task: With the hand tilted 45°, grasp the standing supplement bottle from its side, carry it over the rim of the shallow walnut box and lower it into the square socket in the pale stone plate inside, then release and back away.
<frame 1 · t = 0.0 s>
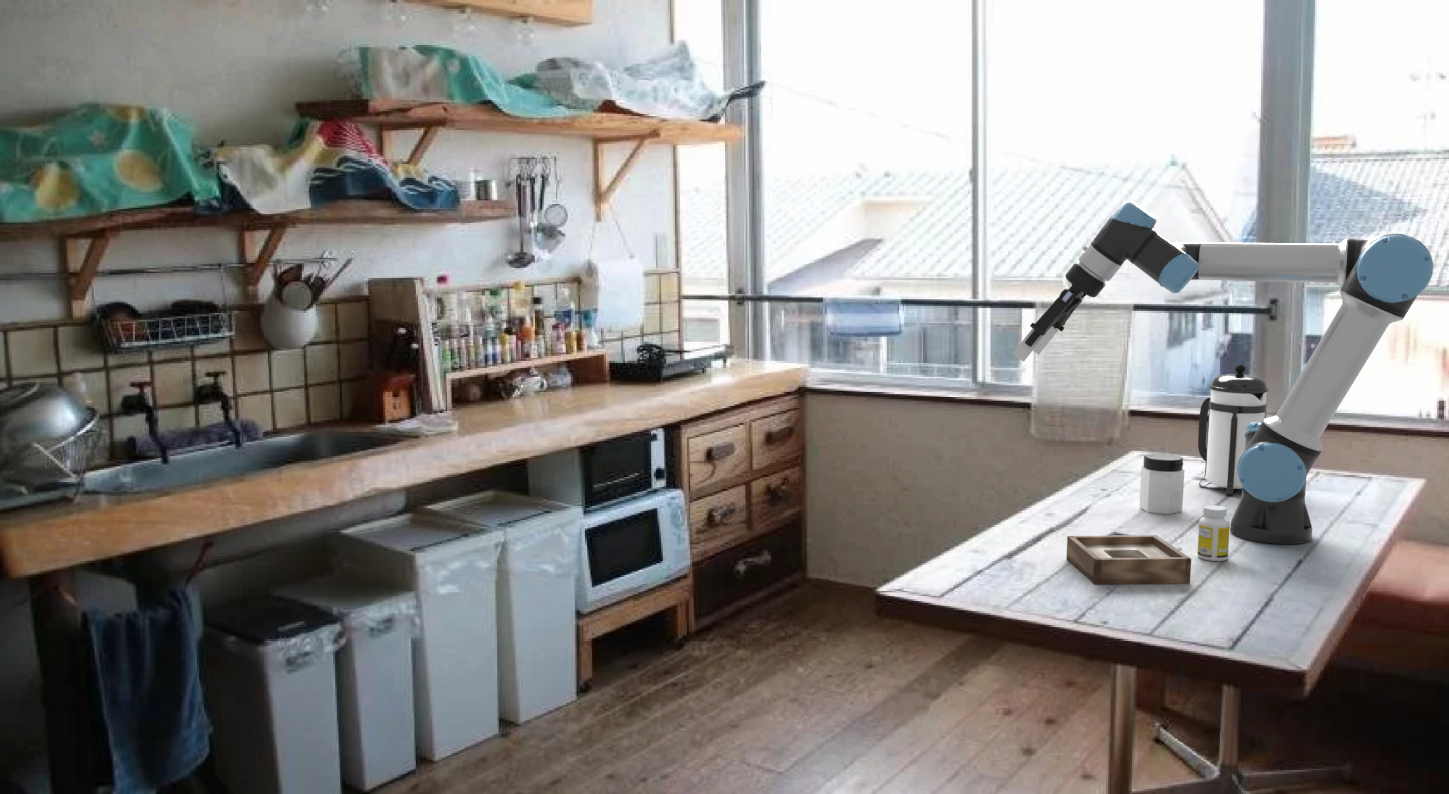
hand: (1026, 354, 252), 36 cm above the table, tool tilted 35°, fingers open, 13 cm apart
supplement bottle: (1212, 559, 232), on the table
jar: (1160, 510, 269), on the table
coffee press: (1227, 489, 290), on the table
socket box: (1126, 571, 223), on the table
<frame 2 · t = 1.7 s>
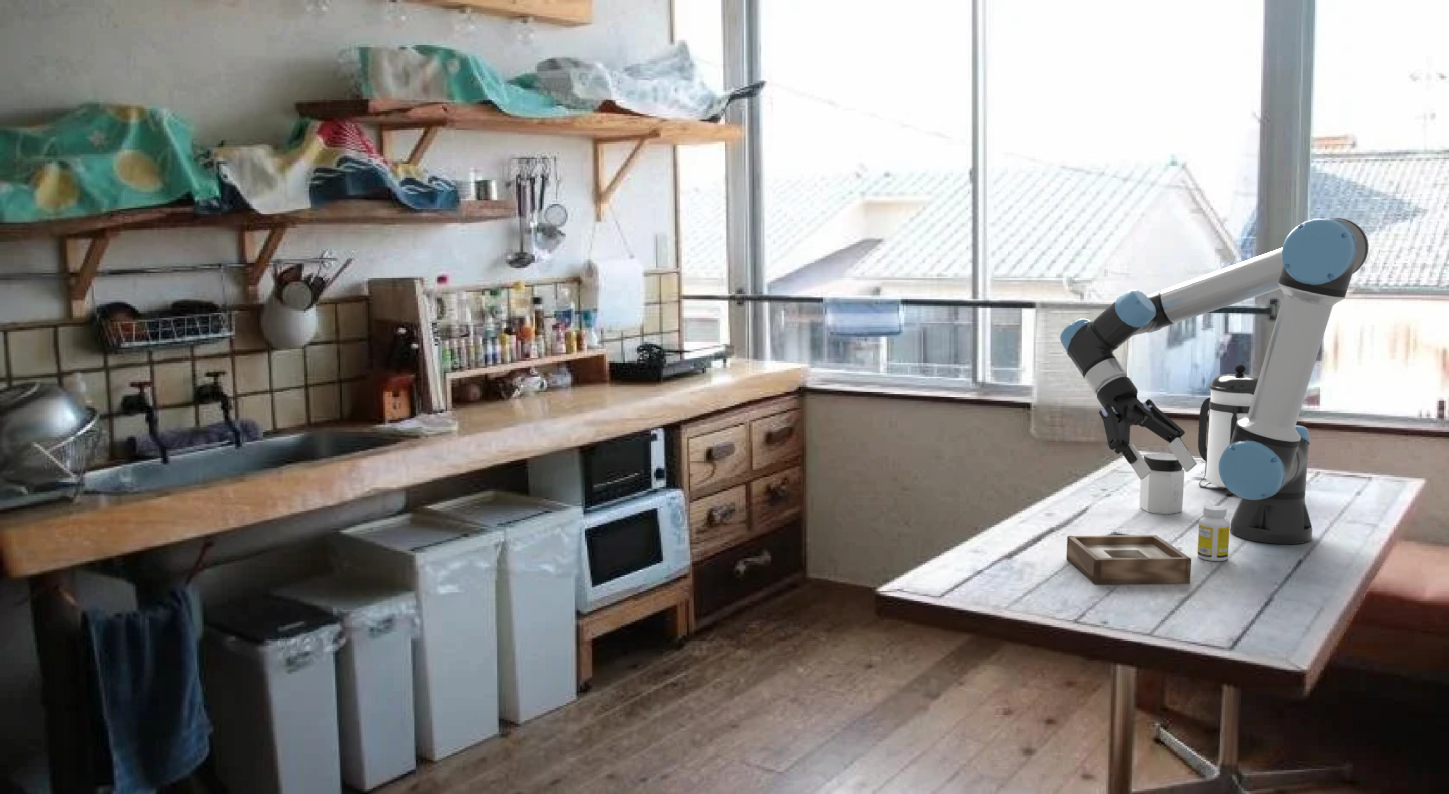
hand: (1169, 471, 238), 15 cm above the table, tool tilted 45°, fingers open, 13 cm apart
nothing on the table moved.
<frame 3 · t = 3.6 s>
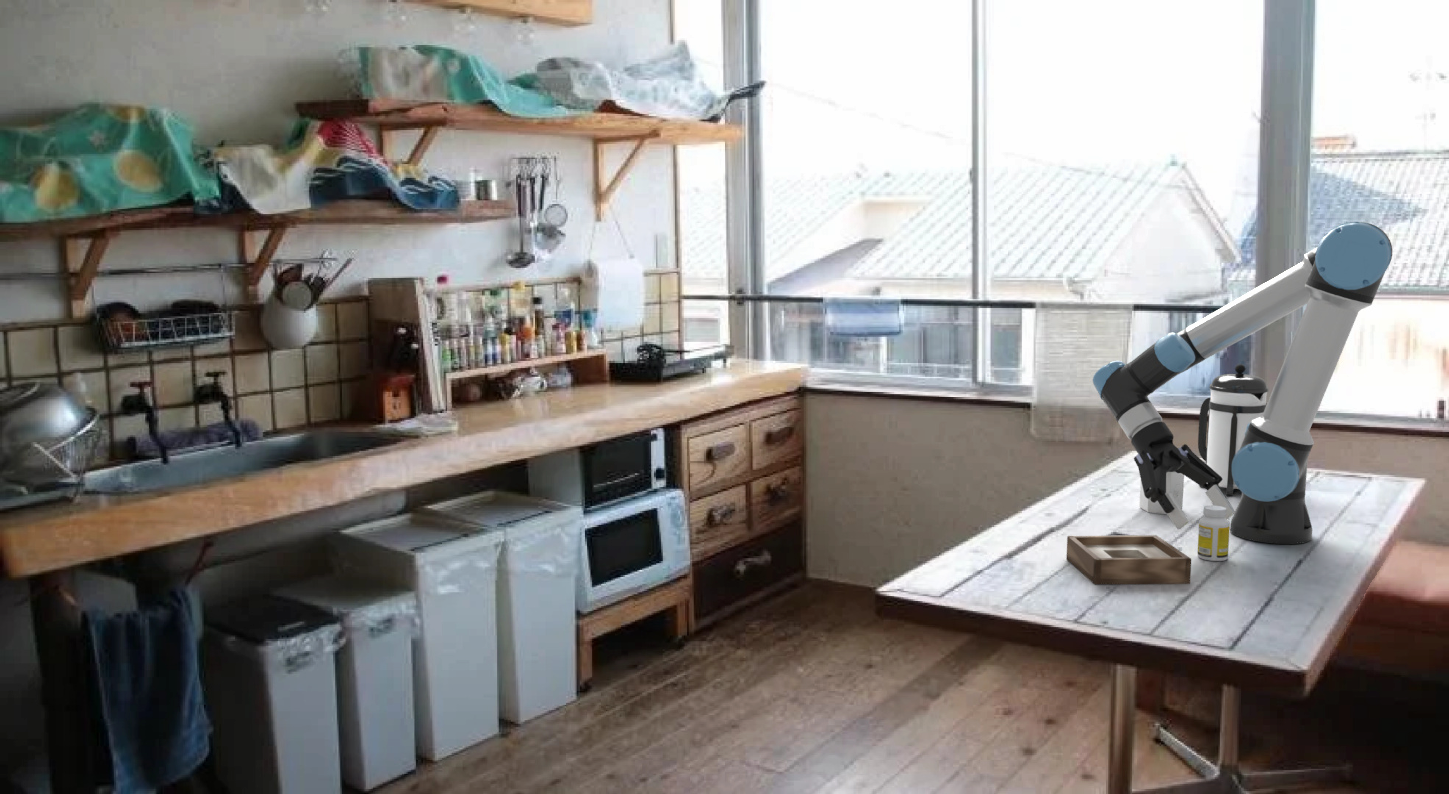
hand: (1207, 521, 231), 7 cm above the table, tool tilted 45°, fingers open, 13 cm apart
nothing on the table moved.
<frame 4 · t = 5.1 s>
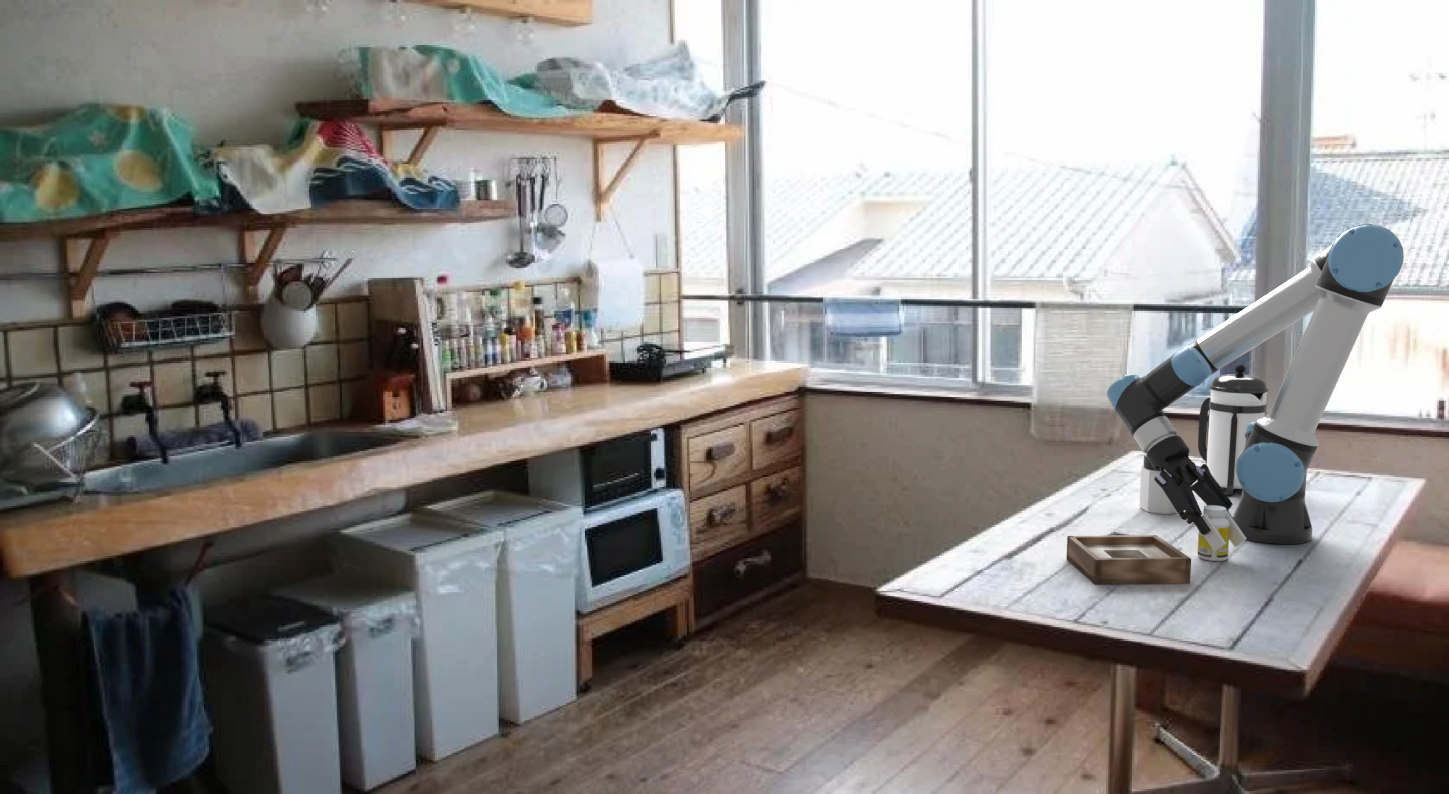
hand: (1230, 545, 228), 3 cm above the table, tool tilted 45°, fingers closed on supplement bottle, 5 cm apart
supplement bottle: (1212, 558, 232), on the table, touching gripper
everything else where it was.
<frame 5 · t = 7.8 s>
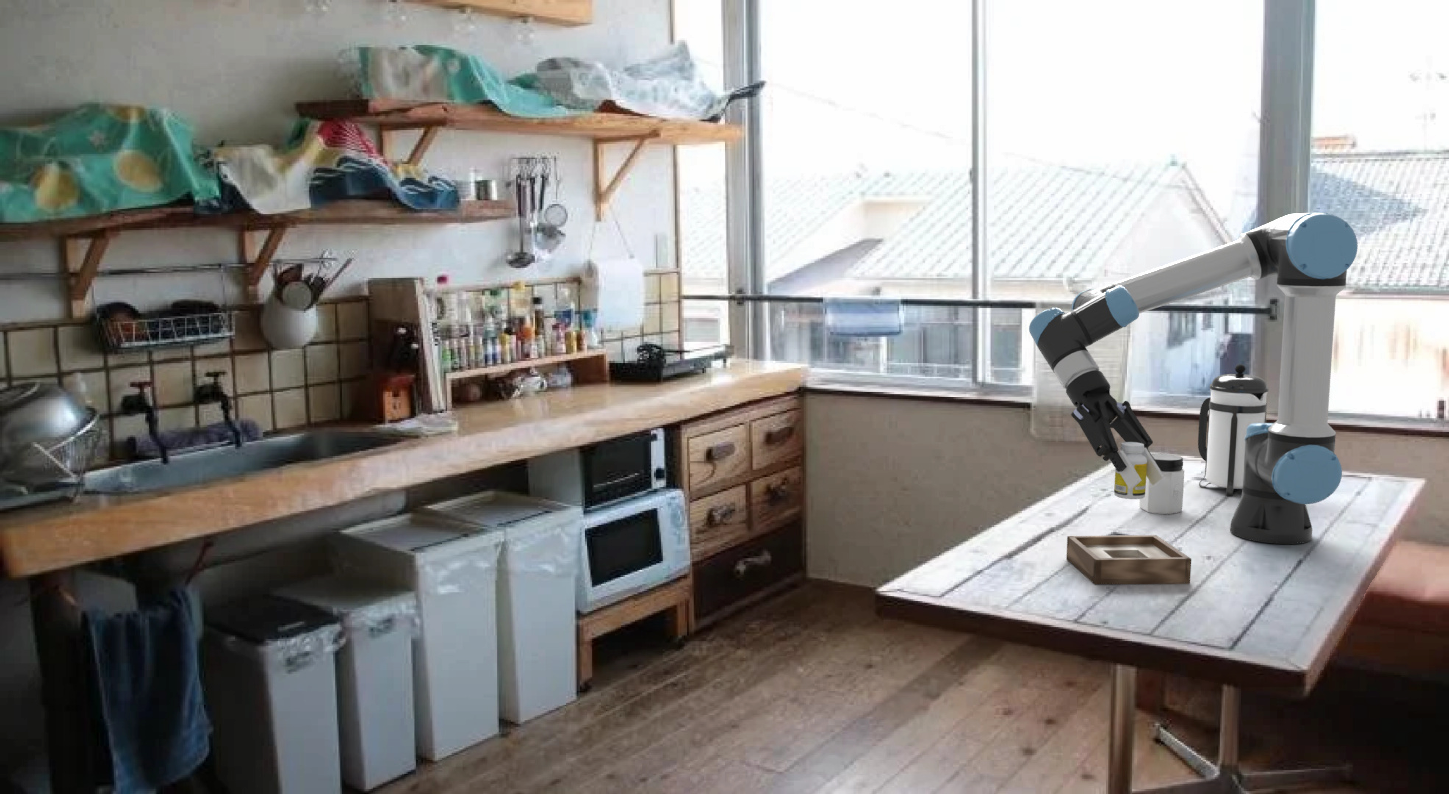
hand: (1147, 482, 218), 17 cm above the table, tool tilted 45°, fingers closed on supplement bottle, 5 cm apart
supplement bottle: (1129, 497, 222), point 13 cm above the table, touching gripper
everything else where it was.
when the fingers open (5 cm above the table, at t = 10.3 s): supplement bottle stays where it is, resting on socket box.
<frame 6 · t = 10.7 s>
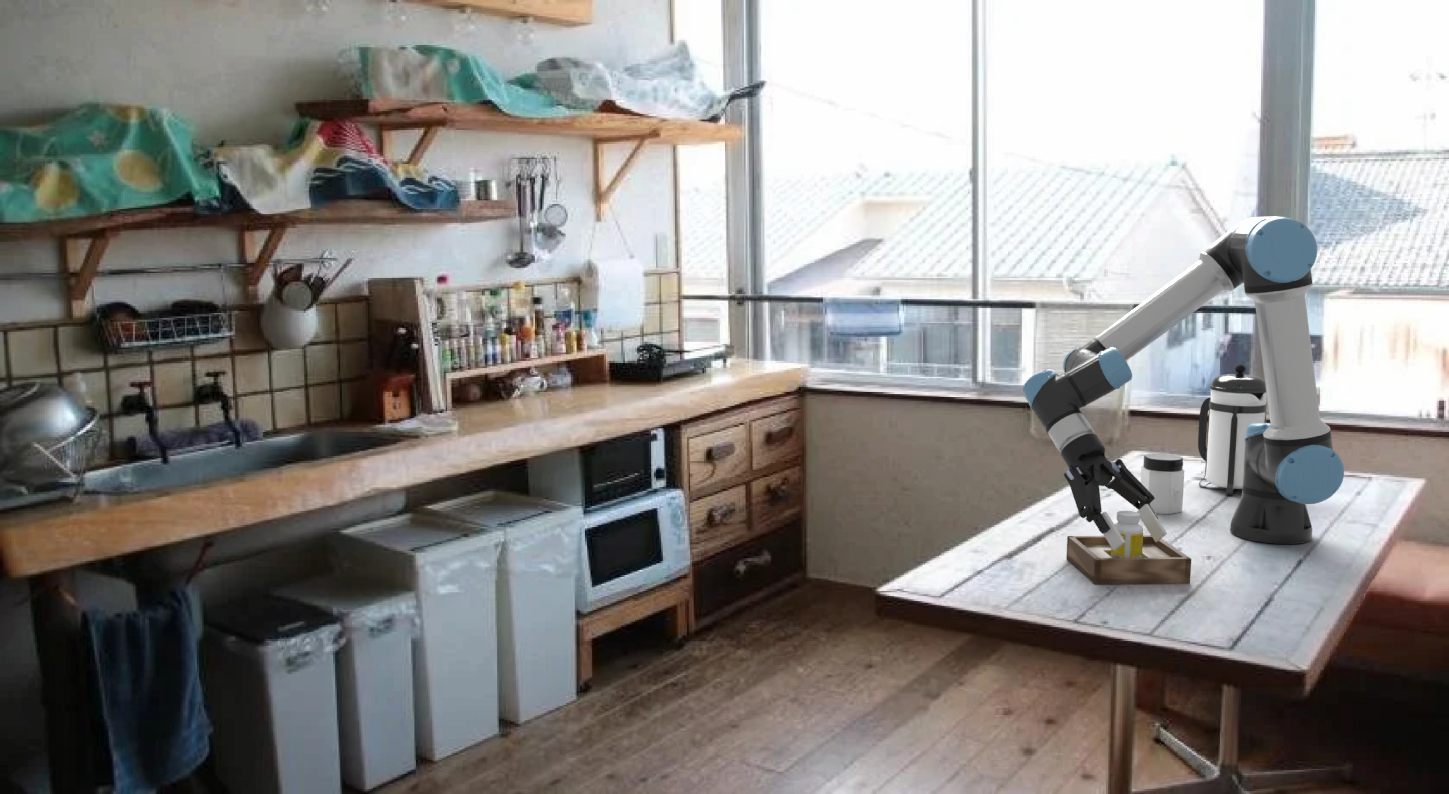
hand: (1140, 542, 220), 6 cm above the table, tool tilted 45°, fingers open, 10 cm apart
supplement bottle: (1125, 566, 223), point 1 cm above the table, touching socket box
everything else where it was.
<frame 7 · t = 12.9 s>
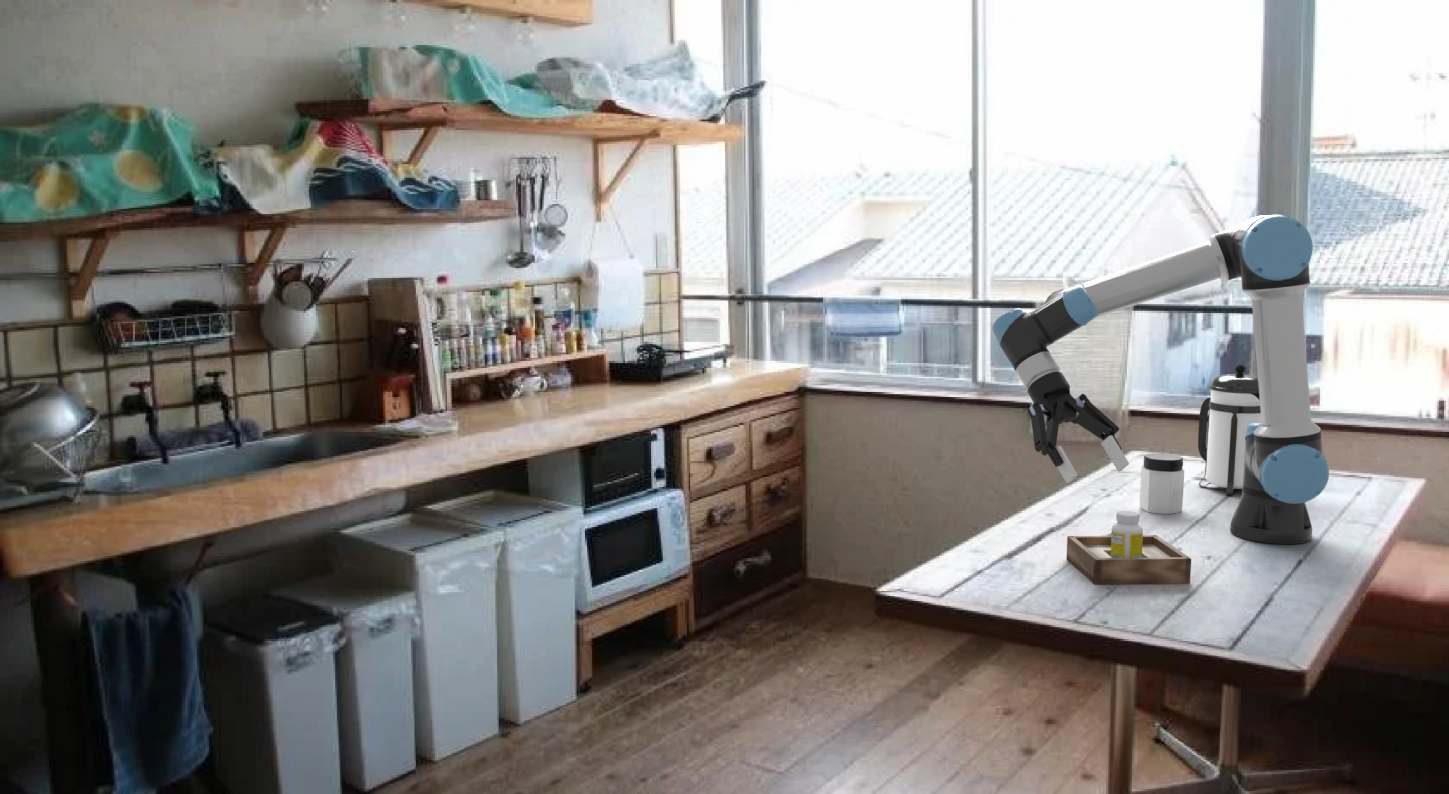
hand: (1098, 473, 228), 16 cm above the table, tool tilted 40°, fingers open, 13 cm apart
nothing on the table moved.
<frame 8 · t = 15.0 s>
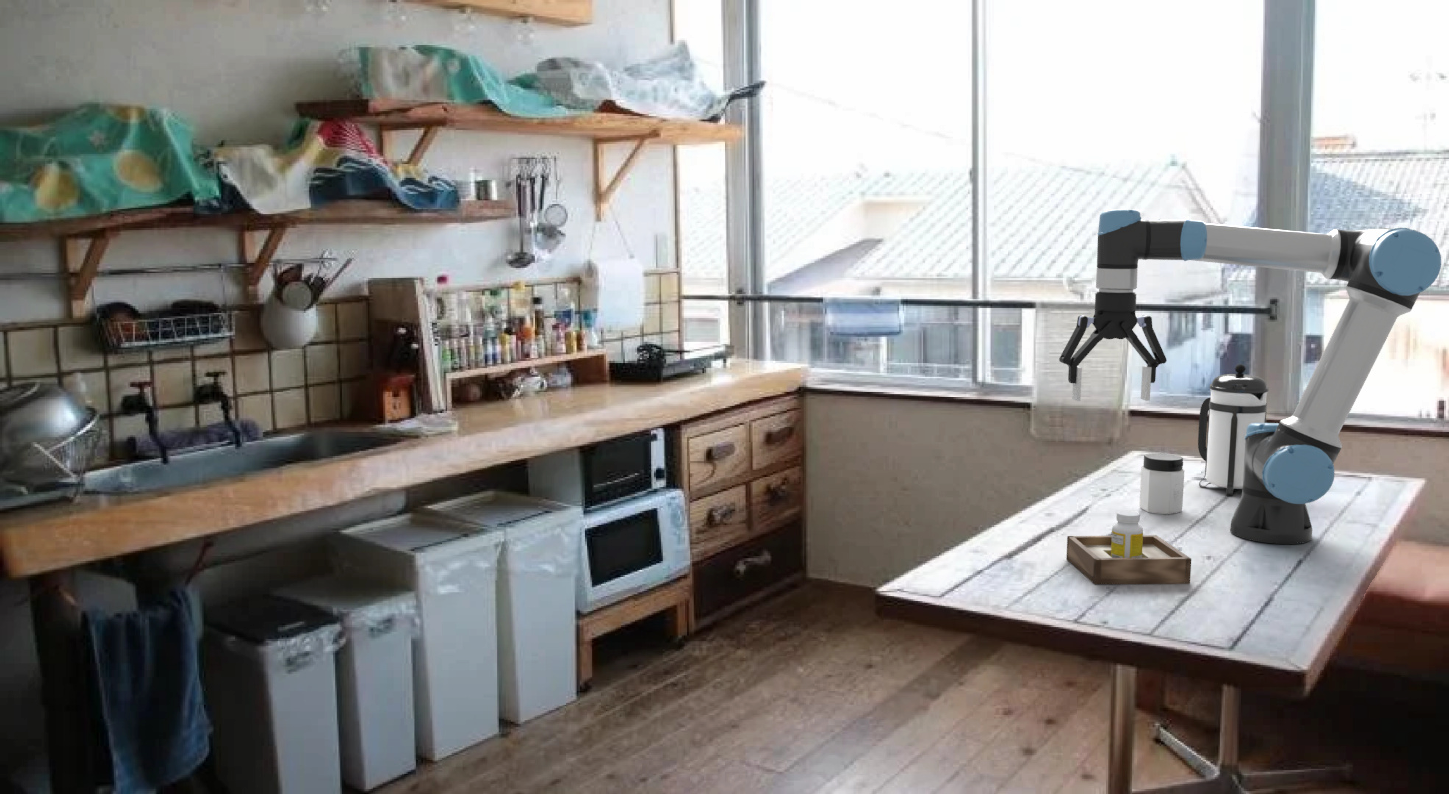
hand: (1110, 400, 238), 29 cm above the table, tool pointing down, fingers open, 13 cm apart
nothing on the table moved.
at the end: supplement bottle 0.1 cm off-centre on the socket box, point 0.8 cm above the socket box's base; supplement bottle tilted 0°; the gripper is holding nothing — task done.
